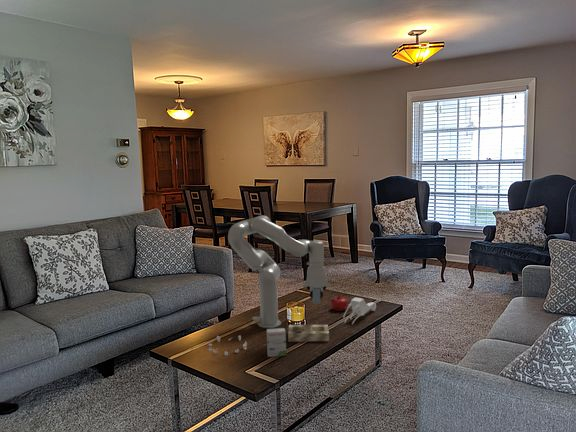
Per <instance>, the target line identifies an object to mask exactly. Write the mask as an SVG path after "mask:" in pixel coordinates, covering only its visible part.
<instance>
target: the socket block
mask: <svg viewBox="0 0 576 432" xmlns="http://www.w3.org/2000/svg"><path fill="white" fill-rule="evenodd" d="M287 337H288V338H287V339H288V341H287V342H330V330H329V325H328V324H289V325H288V334H287Z"/></svg>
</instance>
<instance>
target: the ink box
mask: <svg viewBox="0 0 576 432" xmlns="http://www.w3.org/2000/svg"><path fill="white" fill-rule="evenodd" d="M266 347H267V348H266V349H267V350H266V351H267V357H268V358H271V357H284V356H287V334H286V328H285V327H279V328H278V327H276V328H266Z"/></svg>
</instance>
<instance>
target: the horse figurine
mask: <svg viewBox="0 0 576 432" xmlns="http://www.w3.org/2000/svg"><path fill="white" fill-rule="evenodd" d="M350 308H351V310H352V311H351V313H350V314H349V315H348V316H347V317H346V314H347V312H348V310H349V309H350ZM376 309H377V304H376V303H375V302H372V301H371V302H368V303H366V300H365V298H361V297H356V296H355V297H353V298H352V299H351V300H350V303H348V306H347V308H346V309H345V312H344V313H343V315H342V316H343V317H342V318H343V319H345V320H344V324H346V323H347V321H348V319H349V318H350V320H352V318H353V316H354V315H356V317H355V318H354V319H353V321H352V322H351V325H352V326H353V325H354V323H355V321H356V320H357V319H358V318H359V317H362V316H365V315H366V313H368V312H369V311H370V310H371V311H372V312H375V311H376ZM345 317H346V318H345Z"/></svg>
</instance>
